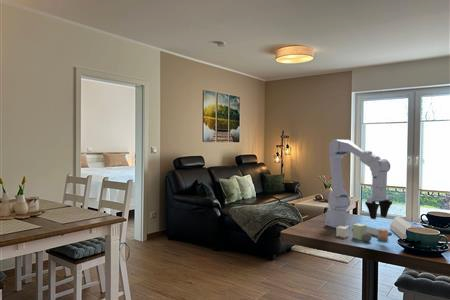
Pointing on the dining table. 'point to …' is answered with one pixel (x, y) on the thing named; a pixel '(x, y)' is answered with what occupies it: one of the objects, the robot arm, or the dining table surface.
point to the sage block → (359, 230)
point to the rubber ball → (366, 237)
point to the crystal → (400, 227)
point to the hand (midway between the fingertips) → (378, 217)
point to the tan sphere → (382, 234)
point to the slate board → (373, 231)
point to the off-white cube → (342, 231)
